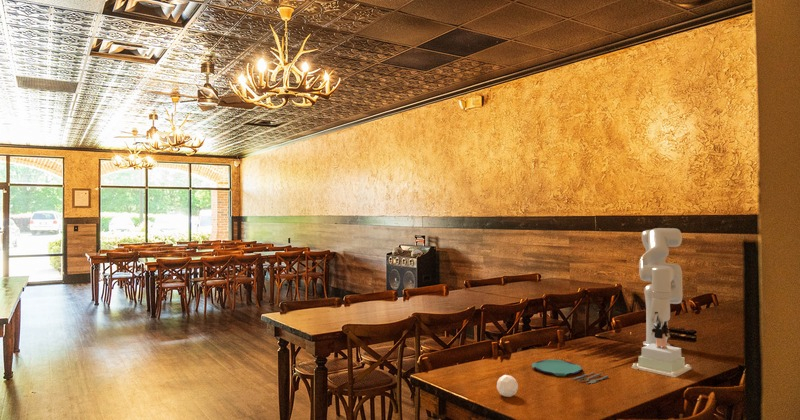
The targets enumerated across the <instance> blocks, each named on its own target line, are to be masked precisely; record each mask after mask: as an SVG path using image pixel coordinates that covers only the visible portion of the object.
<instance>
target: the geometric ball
mask: <svg viewBox="0 0 800 420" xmlns="http://www.w3.org/2000/svg"><path fill="white" fill-rule="evenodd" d="M518 388H519V384H518V382H517V379H516V378H514V376H512V375H508V374H504V375H502V376H500V377H499V378H498V380H497V382H496V389H497V391H498V393H499V394H500V395H501V396H503V397H504V398H506V397H507V398H511V397H513V396H514V395H516V394H517V391H518V390H519V389H518Z"/></svg>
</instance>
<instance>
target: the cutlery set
mask: <svg viewBox="0 0 800 420" xmlns="http://www.w3.org/2000/svg"><path fill="white" fill-rule="evenodd" d="M531 367H532V369H536V370H537V371H539V372H541V373H544V374H550V375H555V376H556V377H566V376H573V375H576V374H578V373H581V372H583V371H584V370H583V369H584V368H583V367H582V366H581V365H579V364H575V363H573V362H570V361H566V360H561V359H551V358H550V359H544V360H539V361H535V362H533V363H532V364H531ZM589 375H592V376H590V377H588V376H589ZM599 376H602V373H600V372H599V373H596V374H595V372H594V371H592V372H590V373H585V374H582V375H581V376H576V377H573V378H572V380H573V381H575V380H578V382H581V383H585V384H586V385H588V384H587V383H591V384H590V385H593V384H596V383H597V382H599V380H601V381H602V380H603V379H604V380H606V379H608V378H609V375H605V376H603V377H601V378H598V379H595V378H597V377H599ZM583 379H586V380H584V381H583ZM590 379H591V380H590ZM604 380H603V381H604ZM587 381H588V382H587ZM592 383H593V384H592Z"/></svg>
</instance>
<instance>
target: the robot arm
mask: <svg viewBox="0 0 800 420" xmlns="http://www.w3.org/2000/svg"><path fill="white" fill-rule="evenodd" d="M682 241H683V234H682V232H681V230H680V229H678V228H674V227H672V228H671V227H666V228H665V227H657V228H656V227H655V228H652V229H646V230H643V231H642V232H641V243H642V245H643V247H644V249H645V253H643V255H641V257H640V259H639V261H638V274H639V277H640V280H641V281H644V282H651V283H650V284H647V285H646V286H645V287H644V289H643V291H644V293H643V294H644V299H645V310H646V311H645V313H646V314H645V316H646V317H645V320H646V323H645V329H646V330H645V334H646V335H645V339H646V340H645V341H642V344H643V346H647V345H650V344H652V343H655V344H656V338H660V339H662V338H663V329H662V322H664V325H663V328H665V329H666V330H667V331H668V332H669V320H670V319H671V304H673V305H678V304H681V303H682V301H683V270H682V267H681V265H680V264H678V263H672V262H668V263H667V262H666V258H667V257H668V256H669V255H670V249H669V247H670V248H674V247H675V248H677V247H679V246H680V245H682ZM658 320H659V321H660V322H658ZM658 323H660V325H659V324H658ZM653 328H654V329H655V332H654V333H653V335H651V334H650V333H651V331H652V329H653ZM664 334H665V338H666V346H671V344H670V343H669V342H667V341H668V339H669V337H668V336H667V334H666V333H665V332H664Z"/></svg>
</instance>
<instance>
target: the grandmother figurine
mask: <svg viewBox="0 0 800 420" xmlns="http://www.w3.org/2000/svg"><path fill="white" fill-rule="evenodd" d="M658 322H660V321H659V320H658ZM658 324H659V325H660V323H658ZM663 325H664V322H662V329H663V338H662V339H660V338H656V348H661V346H663V347H662V349H667V347H666V338H665V334H664V332H665V333H666V334H667V337H668V338H671V335H670V332H669V330H668V331H667V330H666V329H665V328H663ZM654 332H655V329H654V328H653V329H652V331H651V333H650V334H651V335H653V333H654Z"/></svg>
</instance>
